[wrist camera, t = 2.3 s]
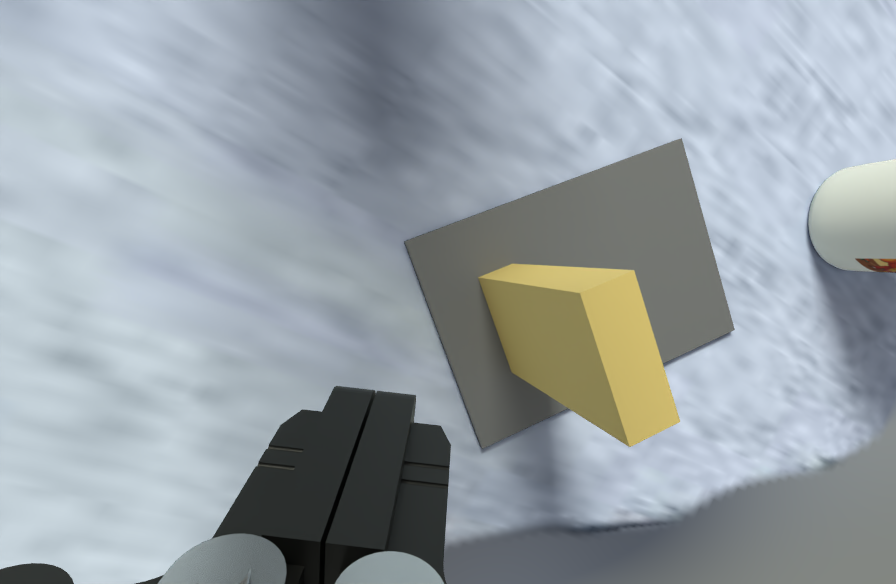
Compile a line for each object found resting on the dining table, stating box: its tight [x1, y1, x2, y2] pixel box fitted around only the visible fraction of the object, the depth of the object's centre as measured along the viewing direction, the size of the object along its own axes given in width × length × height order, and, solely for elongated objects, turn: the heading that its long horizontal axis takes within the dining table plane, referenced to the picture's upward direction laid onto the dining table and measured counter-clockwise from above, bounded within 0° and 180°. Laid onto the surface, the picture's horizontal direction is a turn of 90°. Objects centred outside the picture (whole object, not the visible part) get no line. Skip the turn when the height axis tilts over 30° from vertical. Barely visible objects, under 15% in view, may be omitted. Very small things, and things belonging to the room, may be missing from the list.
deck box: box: [478, 264, 680, 447], centre depth 26 cm, size 3×6×13 cm, turn 21°
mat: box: [404, 138, 735, 449], centre depth 34 cm, size 20×14×1 cm
